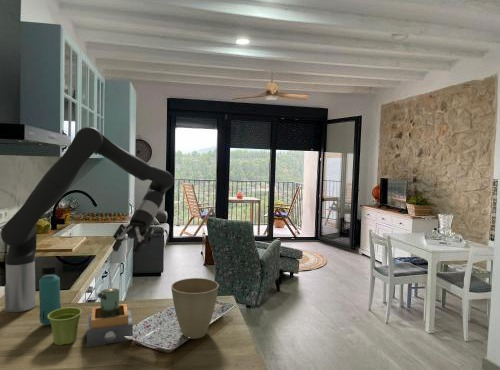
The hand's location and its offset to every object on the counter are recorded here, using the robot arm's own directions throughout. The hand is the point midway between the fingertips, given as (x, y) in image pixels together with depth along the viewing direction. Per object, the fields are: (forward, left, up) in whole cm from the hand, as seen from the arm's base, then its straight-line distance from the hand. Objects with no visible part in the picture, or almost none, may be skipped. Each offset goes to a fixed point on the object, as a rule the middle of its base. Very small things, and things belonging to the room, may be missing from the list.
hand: (124, 251), depth 134 cm
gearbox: (-5, -13, -23) cm, 27 cm away
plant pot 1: (-18, -13, -24) cm, 32 cm away
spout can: (-6, -14, -18) cm, 23 cm away
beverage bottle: (-24, +1, -24) cm, 33 cm away
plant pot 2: (+20, -21, -24) cm, 37 cm away
